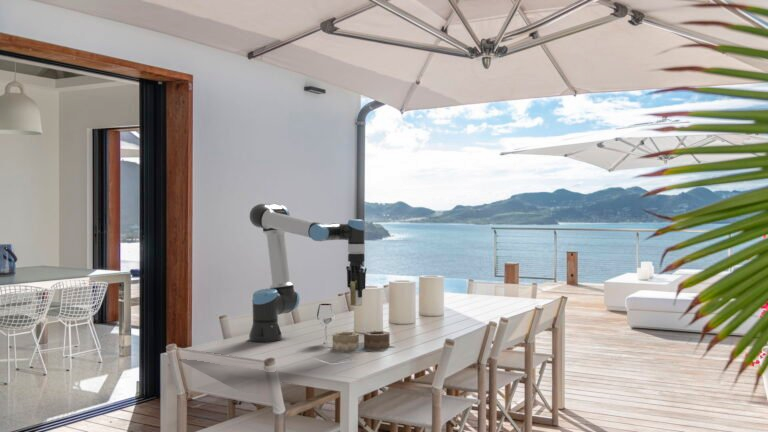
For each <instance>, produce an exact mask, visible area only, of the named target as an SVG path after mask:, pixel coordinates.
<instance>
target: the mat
mask: <svg viewBox="0 0 768 432" xmlns="http://www.w3.org/2000/svg"><path fill="white" fill-rule="evenodd" d="M327 348H328V349H332V350H335V349H333V346H328V347H327ZM394 348H395V346H394V345H393V346H392V345H390V346H389V347H388V348H384V349H383V350H388V349H394ZM380 350H382V349H368V348H365V347H364V341H363V342H359V347H358V348H357V349H355V350H349V351H345V350H337V351H338V352H342V353H345V354H348V355H354V354H361V353H367V352H373V351H380ZM335 351H336V350H335Z"/></svg>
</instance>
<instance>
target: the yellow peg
mask: <svg viewBox="0 0 768 432" xmlns="http://www.w3.org/2000/svg"><path fill="white" fill-rule="evenodd" d="M356 289H357V283H356V281H351V295H350V306H352V307H358V306H359V307H360V306H363V303H362V304H361V305H356Z"/></svg>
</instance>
